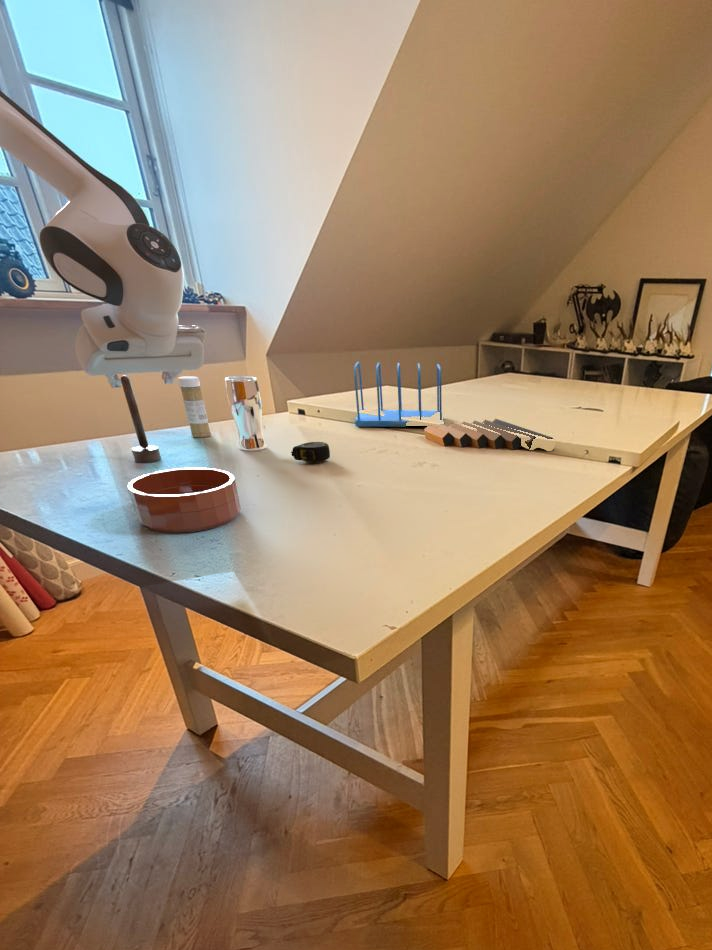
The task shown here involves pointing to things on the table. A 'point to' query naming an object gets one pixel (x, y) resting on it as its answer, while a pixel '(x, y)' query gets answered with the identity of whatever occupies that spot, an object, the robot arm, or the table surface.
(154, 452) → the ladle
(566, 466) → the table surface
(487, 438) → the pan flute
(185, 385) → the sprinkles bottle
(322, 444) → the tape measure
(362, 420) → the file sorter
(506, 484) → the table surface
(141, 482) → the bowl
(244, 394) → the beer glass
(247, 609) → the table surface
